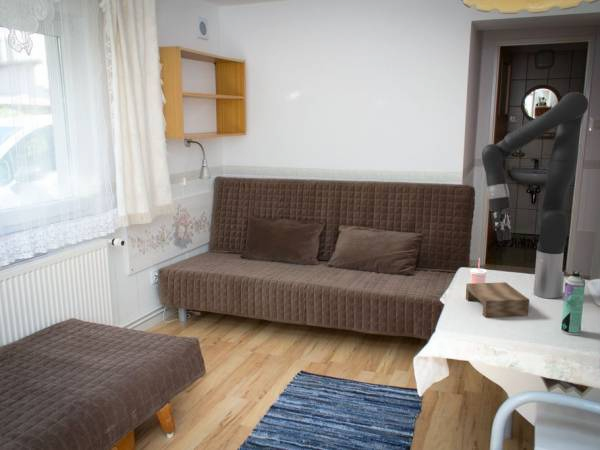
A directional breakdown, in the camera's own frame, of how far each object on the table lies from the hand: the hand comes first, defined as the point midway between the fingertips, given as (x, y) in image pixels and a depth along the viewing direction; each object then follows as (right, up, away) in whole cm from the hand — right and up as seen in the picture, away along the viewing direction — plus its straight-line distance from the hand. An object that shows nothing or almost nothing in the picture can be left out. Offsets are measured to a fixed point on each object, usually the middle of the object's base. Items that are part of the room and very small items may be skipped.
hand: (504, 240), depth 206 cm
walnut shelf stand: (-6, -24, -8) cm, 26 cm away
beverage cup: (-8, -21, +8) cm, 24 cm away
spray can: (+10, -29, -31) cm, 43 cm away
